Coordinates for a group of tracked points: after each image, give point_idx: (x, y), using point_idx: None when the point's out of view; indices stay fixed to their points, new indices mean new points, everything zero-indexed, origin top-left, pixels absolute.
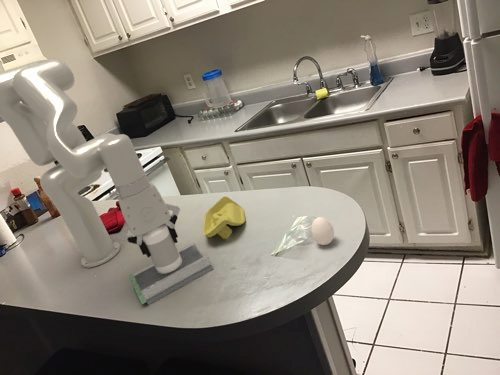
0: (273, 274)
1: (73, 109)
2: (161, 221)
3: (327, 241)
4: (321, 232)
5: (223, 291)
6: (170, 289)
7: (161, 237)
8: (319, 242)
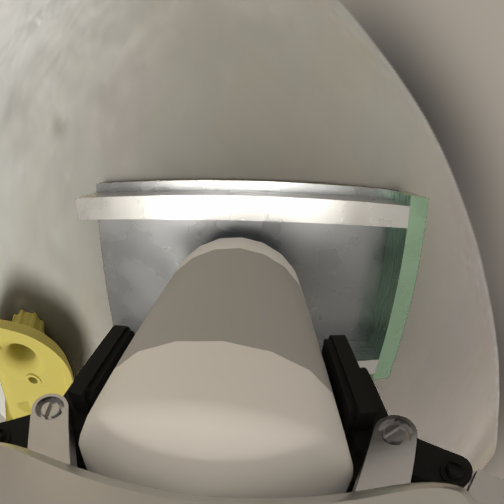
0: (24, 22)
1: None
2: (41, 497)
3: None
4: None
5: (137, 26)
6: (289, 182)
7: (173, 362)
8: None
